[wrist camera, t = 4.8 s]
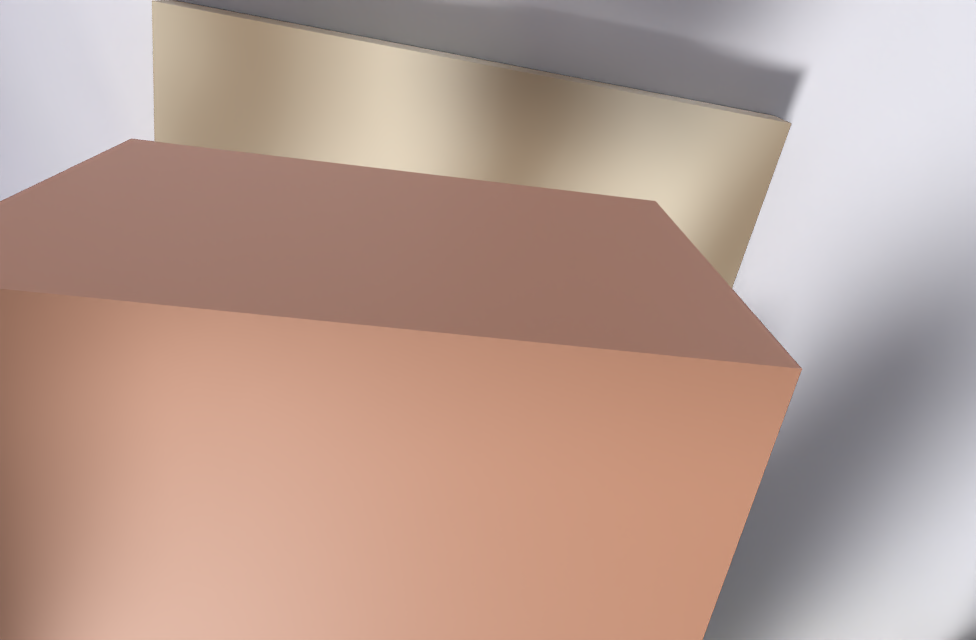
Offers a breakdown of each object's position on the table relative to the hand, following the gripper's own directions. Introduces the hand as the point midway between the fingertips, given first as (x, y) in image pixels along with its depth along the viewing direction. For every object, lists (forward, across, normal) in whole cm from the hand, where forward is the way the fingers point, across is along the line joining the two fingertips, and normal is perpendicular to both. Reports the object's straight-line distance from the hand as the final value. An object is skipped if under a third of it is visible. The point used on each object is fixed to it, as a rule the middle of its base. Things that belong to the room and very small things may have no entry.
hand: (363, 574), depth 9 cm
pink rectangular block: (+2, 0, 0) cm, 2 cm away
